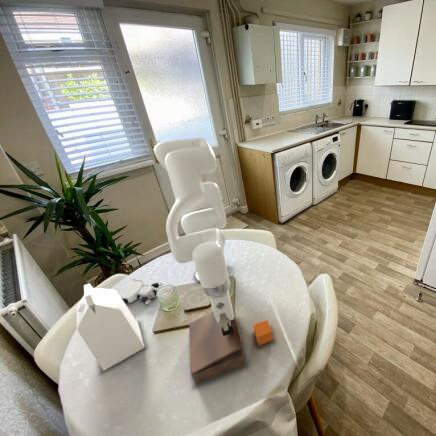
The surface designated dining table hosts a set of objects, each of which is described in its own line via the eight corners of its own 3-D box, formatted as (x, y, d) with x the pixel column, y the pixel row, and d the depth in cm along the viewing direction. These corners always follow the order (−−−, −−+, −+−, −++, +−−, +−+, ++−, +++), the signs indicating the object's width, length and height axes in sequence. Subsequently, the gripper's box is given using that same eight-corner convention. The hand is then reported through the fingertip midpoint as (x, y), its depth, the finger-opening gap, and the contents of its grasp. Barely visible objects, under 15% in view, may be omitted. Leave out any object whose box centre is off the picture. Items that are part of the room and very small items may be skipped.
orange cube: (268, 329, 84) (267, 319, 82) (273, 341, 80) (271, 331, 78) (255, 334, 83) (253, 324, 80) (258, 346, 79) (257, 337, 76)
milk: (144, 347, 80) (112, 291, 67) (103, 370, 74) (60, 314, 61) (138, 323, 89) (108, 270, 76) (100, 342, 82) (61, 288, 70)
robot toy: (166, 286, 106) (132, 284, 106) (163, 279, 103) (129, 277, 104) (150, 309, 95) (113, 307, 95) (147, 301, 93) (109, 299, 93)
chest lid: (232, 303, 84) (227, 294, 81) (243, 347, 70) (236, 338, 67) (190, 324, 81) (182, 315, 78) (191, 375, 67) (182, 366, 64)
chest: (235, 320, 88) (233, 310, 86) (245, 365, 74) (243, 355, 71) (193, 334, 84) (190, 324, 81) (196, 385, 69) (191, 375, 67)
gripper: (234, 301, 61) (244, 345, 70) (225, 261, 75) (234, 302, 84) (203, 311, 59) (218, 355, 68) (200, 268, 73) (212, 309, 82)
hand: (227, 325), depth 76 cm, fingers closed on chest lid, 5 cm apart
